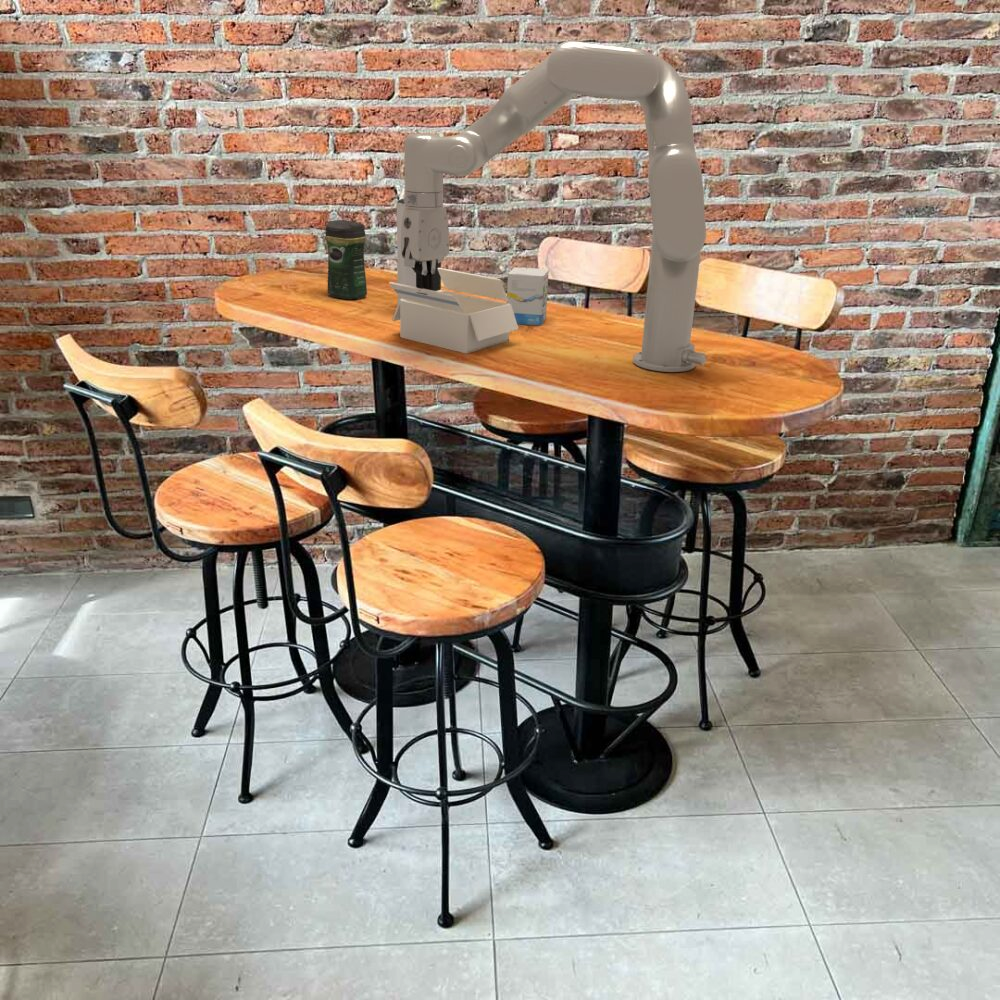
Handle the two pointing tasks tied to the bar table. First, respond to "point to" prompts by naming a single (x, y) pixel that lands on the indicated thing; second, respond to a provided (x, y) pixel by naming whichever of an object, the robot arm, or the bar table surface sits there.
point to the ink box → (528, 294)
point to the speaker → (404, 273)
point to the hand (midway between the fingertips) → (424, 293)
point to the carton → (457, 323)
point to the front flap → (427, 296)
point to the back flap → (473, 284)
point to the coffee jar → (346, 259)
